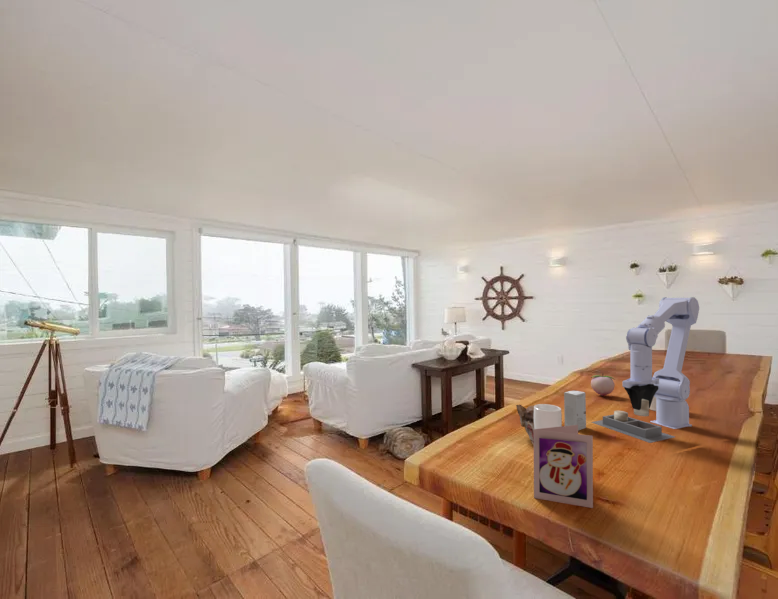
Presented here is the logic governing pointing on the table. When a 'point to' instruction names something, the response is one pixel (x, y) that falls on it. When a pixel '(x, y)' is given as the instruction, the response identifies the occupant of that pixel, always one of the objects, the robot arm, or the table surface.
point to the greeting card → (563, 465)
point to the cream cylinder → (643, 409)
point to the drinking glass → (547, 416)
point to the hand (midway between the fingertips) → (641, 408)
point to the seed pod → (527, 420)
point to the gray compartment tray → (634, 428)
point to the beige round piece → (621, 416)
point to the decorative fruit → (602, 384)
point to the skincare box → (575, 409)
